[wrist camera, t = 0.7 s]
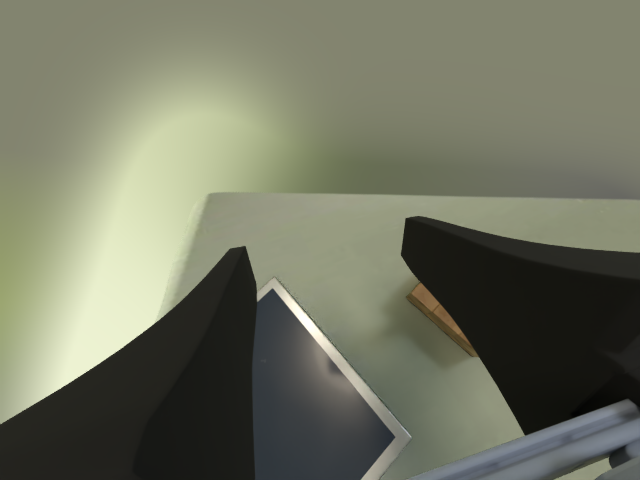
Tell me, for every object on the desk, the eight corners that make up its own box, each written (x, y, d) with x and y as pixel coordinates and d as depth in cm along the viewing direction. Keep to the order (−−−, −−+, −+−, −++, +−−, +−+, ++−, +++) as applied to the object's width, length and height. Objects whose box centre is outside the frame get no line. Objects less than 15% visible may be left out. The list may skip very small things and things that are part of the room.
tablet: (410, 434, 20) (413, 439, 19) (292, 581, 18) (289, 593, 17) (276, 277, 28) (273, 275, 27) (181, 364, 25) (175, 365, 25)
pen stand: (518, 299, 23) (536, 294, 21) (472, 356, 22) (485, 358, 20) (450, 249, 26) (459, 241, 24) (405, 297, 25) (410, 293, 23)
